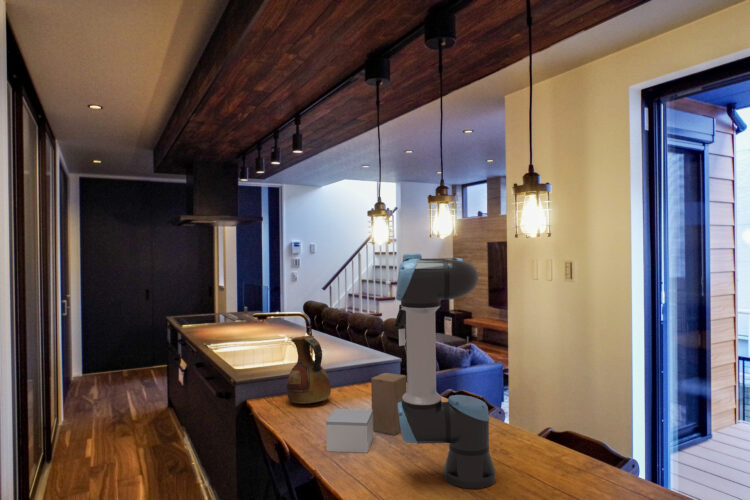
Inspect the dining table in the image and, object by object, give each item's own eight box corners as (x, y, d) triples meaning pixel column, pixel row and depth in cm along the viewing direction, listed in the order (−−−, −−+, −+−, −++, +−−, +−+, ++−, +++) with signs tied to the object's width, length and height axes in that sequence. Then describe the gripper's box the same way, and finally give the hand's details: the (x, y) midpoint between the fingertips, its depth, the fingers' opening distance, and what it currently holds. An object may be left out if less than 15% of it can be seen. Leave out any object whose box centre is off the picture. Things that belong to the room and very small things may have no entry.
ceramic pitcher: (307, 393, 241) (306, 330, 241) (340, 400, 230) (339, 334, 230) (277, 404, 225) (276, 336, 226) (310, 411, 214) (309, 341, 214)
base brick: (367, 452, 169) (366, 422, 169) (326, 451, 171) (326, 421, 171) (373, 437, 183) (372, 409, 183) (335, 436, 185) (335, 408, 185)
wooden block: (394, 435, 184) (393, 381, 184) (371, 431, 190) (370, 377, 190) (407, 427, 193) (406, 375, 193) (385, 423, 198) (384, 372, 198)
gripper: (442, 294, 189) (443, 350, 189) (399, 291, 209) (400, 342, 209) (428, 295, 185) (429, 353, 185) (385, 292, 204) (386, 344, 204)
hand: (413, 347), depth 197 cm, fingers open, 13 cm apart
